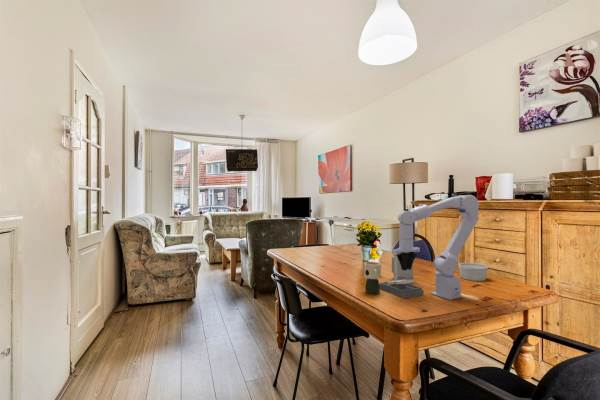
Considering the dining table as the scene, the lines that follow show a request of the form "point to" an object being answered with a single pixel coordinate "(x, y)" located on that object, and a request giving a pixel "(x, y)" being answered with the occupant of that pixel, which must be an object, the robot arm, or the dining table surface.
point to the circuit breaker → (401, 271)
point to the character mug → (372, 276)
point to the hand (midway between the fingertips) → (406, 269)
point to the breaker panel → (402, 289)
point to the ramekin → (473, 271)
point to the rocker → (400, 282)
